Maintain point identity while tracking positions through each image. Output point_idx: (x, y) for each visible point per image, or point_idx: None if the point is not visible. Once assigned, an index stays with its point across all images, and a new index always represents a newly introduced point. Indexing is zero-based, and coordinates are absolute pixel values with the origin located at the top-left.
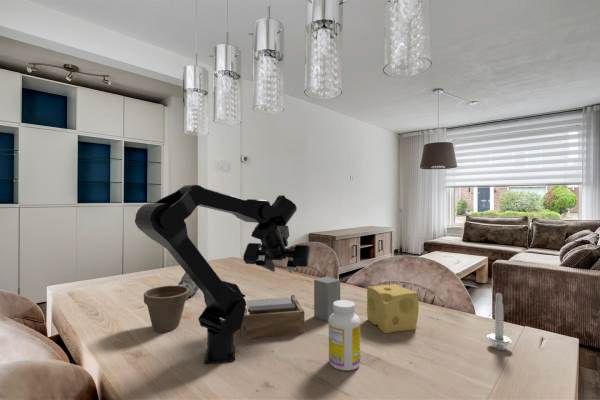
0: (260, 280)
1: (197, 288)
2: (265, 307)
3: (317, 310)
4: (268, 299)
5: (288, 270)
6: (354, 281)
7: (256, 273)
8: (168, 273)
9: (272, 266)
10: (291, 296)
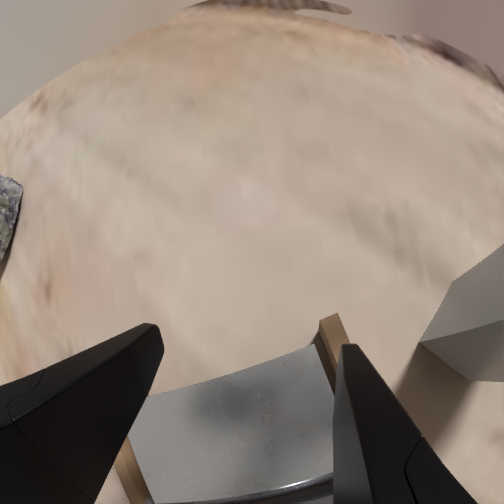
0: (157, 68)
1: (13, 205)
2: None
3: (443, 350)
4: (207, 391)
5: (333, 477)
6: (418, 33)
7: (147, 42)
8: (5, 125)
9: (116, 402)
10: (328, 343)
